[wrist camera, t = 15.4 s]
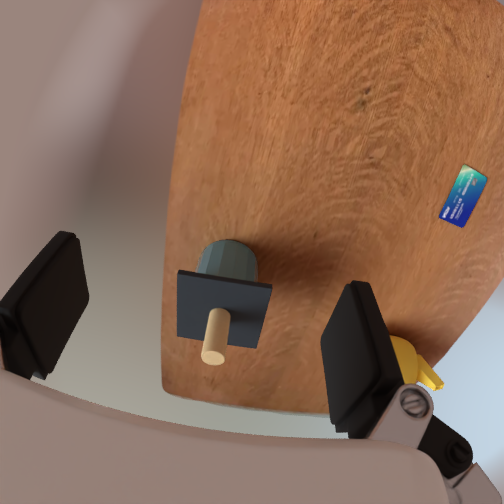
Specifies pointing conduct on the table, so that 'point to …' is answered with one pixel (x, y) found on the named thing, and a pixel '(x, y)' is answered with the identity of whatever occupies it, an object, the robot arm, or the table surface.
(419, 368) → the teapot
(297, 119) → the table surface
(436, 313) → the table surface
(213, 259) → the cup
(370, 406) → the robot arm
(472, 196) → the credit card
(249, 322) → the plate with wooden peg
